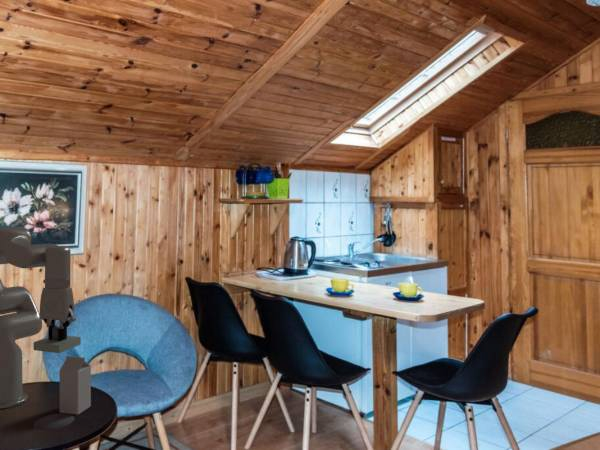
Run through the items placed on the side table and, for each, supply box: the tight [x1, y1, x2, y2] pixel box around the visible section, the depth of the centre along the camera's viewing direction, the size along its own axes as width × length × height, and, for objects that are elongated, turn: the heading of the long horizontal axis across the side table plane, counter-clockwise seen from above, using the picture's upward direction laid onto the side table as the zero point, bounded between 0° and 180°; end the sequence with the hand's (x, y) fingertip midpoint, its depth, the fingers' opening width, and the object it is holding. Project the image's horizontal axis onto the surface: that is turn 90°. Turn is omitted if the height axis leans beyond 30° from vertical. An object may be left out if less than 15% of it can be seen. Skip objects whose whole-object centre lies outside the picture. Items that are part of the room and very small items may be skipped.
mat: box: [33, 412, 75, 431], centre depth 159 cm, size 12×12×1 cm
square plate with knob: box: [33, 325, 82, 354], centre depth 159 cm, size 10×10×7 cm
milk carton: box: [59, 355, 92, 415], centre depth 168 cm, size 7×7×19 cm
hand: (57, 338), depth 159 cm, fingers closed on square plate with knob, 3 cm apart
